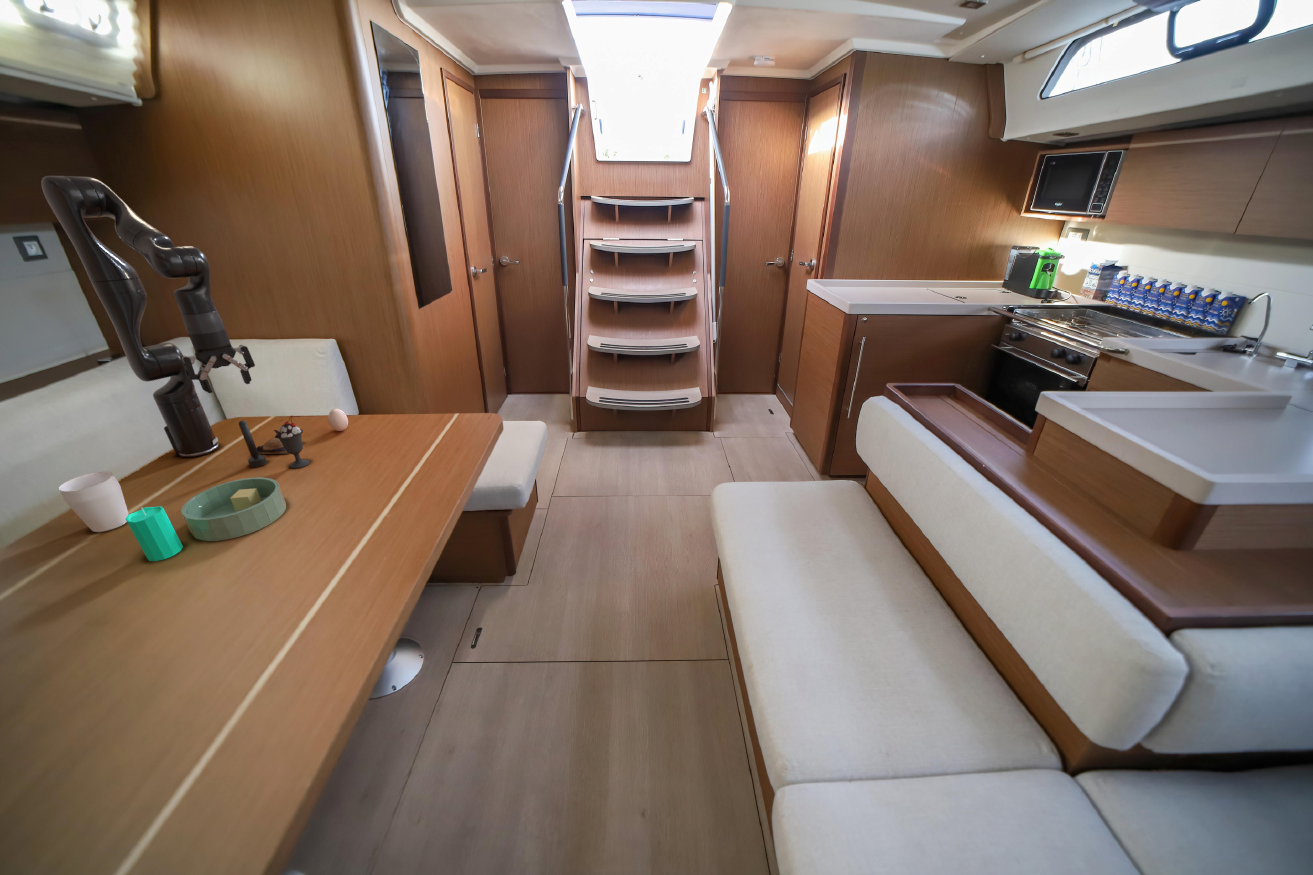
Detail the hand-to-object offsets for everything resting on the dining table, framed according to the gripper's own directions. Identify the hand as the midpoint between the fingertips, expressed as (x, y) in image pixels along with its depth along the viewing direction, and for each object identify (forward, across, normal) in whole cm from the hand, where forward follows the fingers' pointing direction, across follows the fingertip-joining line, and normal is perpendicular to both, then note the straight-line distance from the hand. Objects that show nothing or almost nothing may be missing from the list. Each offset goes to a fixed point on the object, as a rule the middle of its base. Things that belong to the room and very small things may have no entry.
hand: (229, 387), depth 136 cm
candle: (+24, +28, +30) cm, 47 cm away
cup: (+24, +32, +6) cm, 41 cm away
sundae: (+24, -7, +10) cm, 27 cm away
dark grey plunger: (+24, 0, 0) cm, 24 cm away
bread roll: (+24, -8, -6) cm, 26 cm away
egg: (+24, -25, -4) cm, 35 cm away
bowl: (+24, +13, +27) cm, 39 cm away
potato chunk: (+23, +11, +25) cm, 35 cm away
